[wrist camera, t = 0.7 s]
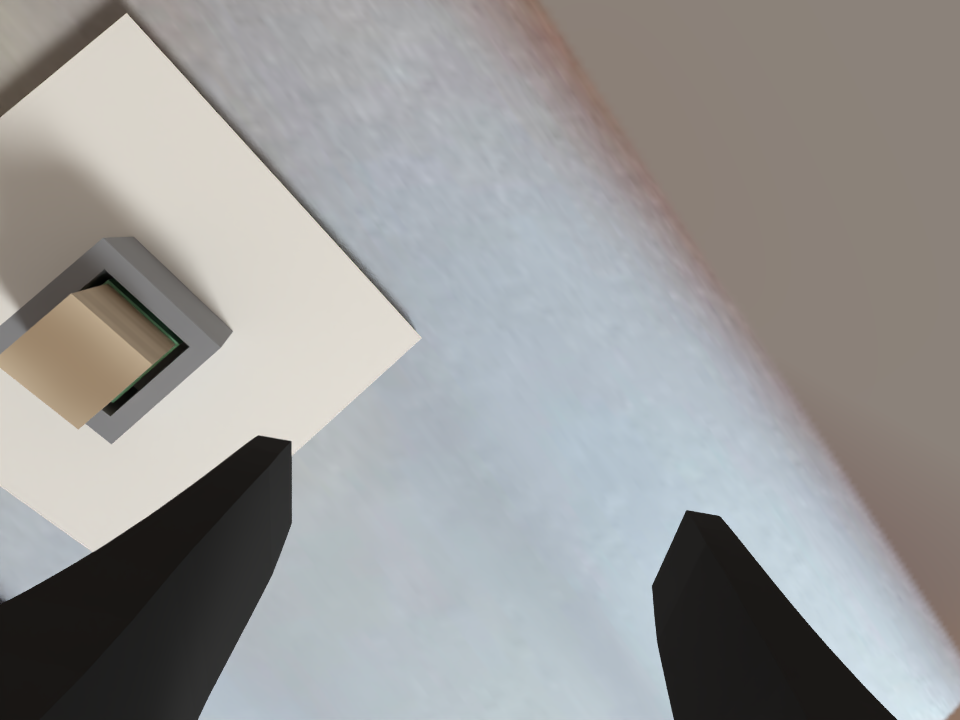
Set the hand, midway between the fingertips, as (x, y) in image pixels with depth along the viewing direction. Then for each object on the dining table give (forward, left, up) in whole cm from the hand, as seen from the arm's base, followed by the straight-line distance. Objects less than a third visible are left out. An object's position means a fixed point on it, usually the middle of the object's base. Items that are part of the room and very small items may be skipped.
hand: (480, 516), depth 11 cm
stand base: (-7, +7, -21) cm, 23 cm away
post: (-7, +7, -19) cm, 22 cm away
